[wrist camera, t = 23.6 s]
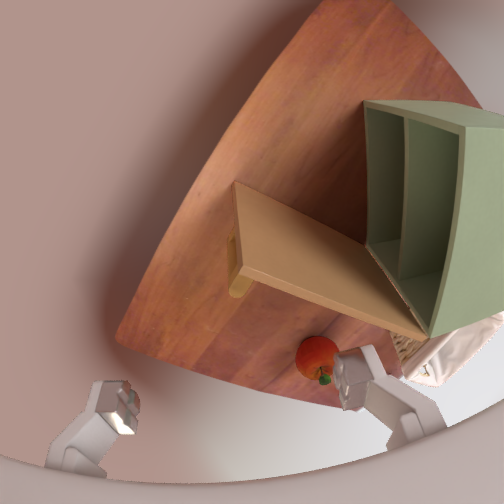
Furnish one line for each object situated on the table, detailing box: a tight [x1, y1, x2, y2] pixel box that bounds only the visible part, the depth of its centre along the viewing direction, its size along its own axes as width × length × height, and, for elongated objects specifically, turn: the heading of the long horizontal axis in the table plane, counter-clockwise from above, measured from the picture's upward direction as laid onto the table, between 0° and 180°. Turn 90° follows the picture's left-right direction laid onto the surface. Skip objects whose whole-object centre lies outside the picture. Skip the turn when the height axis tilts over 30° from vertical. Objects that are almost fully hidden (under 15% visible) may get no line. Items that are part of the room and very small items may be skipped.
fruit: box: [295, 336, 339, 385], centre depth 62 cm, size 10×10×10 cm
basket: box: [389, 309, 504, 387], centre depth 59 cm, size 24×16×15 cm
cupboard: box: [363, 100, 504, 339], centre depth 38 cm, size 18×26×24 cm
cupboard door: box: [227, 181, 427, 342], centre depth 42 cm, size 8×26×24 cm, turn 62°
